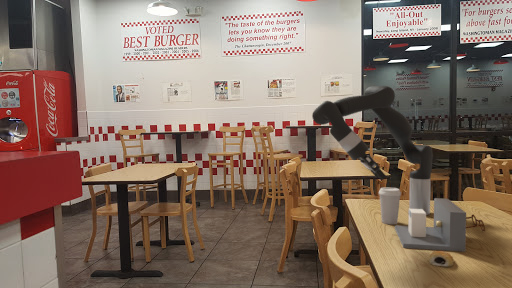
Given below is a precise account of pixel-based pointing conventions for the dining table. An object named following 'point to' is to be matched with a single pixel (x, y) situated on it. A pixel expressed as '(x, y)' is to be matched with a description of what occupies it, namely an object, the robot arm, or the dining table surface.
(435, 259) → the pastry
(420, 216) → the white box
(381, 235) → the dining table surface
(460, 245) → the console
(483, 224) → the glasses
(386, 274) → the dining table surface
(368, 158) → the robot arm
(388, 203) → the coffee cup
